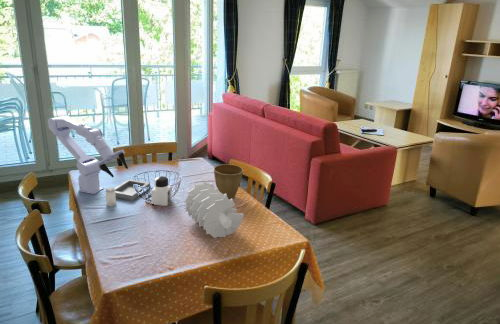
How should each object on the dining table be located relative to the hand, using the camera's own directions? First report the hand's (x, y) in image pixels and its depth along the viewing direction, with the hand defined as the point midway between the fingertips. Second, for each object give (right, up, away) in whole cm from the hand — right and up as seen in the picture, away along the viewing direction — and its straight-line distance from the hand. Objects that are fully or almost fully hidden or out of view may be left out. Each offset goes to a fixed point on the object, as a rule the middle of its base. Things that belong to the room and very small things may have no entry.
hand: (120, 172), depth 180 cm
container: (+18, -15, +7) cm, 25 cm away
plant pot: (+50, -14, +16) cm, 54 cm away
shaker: (-5, -15, +2) cm, 16 cm away
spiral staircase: (+45, -24, -13) cm, 53 cm away
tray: (0, -11, +15) cm, 18 cm away
